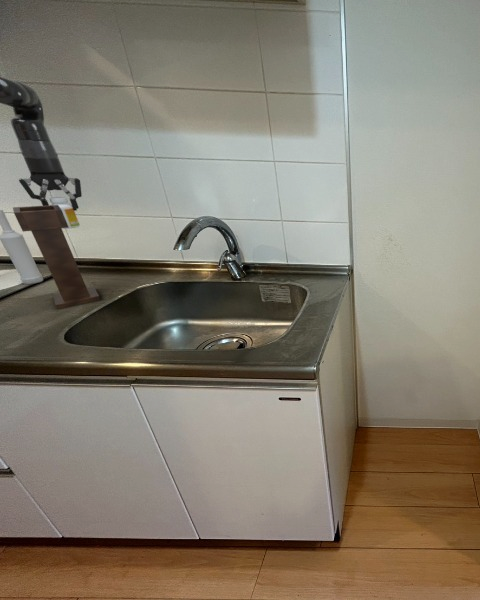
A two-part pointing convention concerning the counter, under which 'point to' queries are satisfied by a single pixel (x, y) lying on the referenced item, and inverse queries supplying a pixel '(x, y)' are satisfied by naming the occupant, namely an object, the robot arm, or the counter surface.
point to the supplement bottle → (66, 211)
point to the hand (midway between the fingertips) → (62, 210)
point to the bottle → (19, 252)
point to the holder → (56, 253)
